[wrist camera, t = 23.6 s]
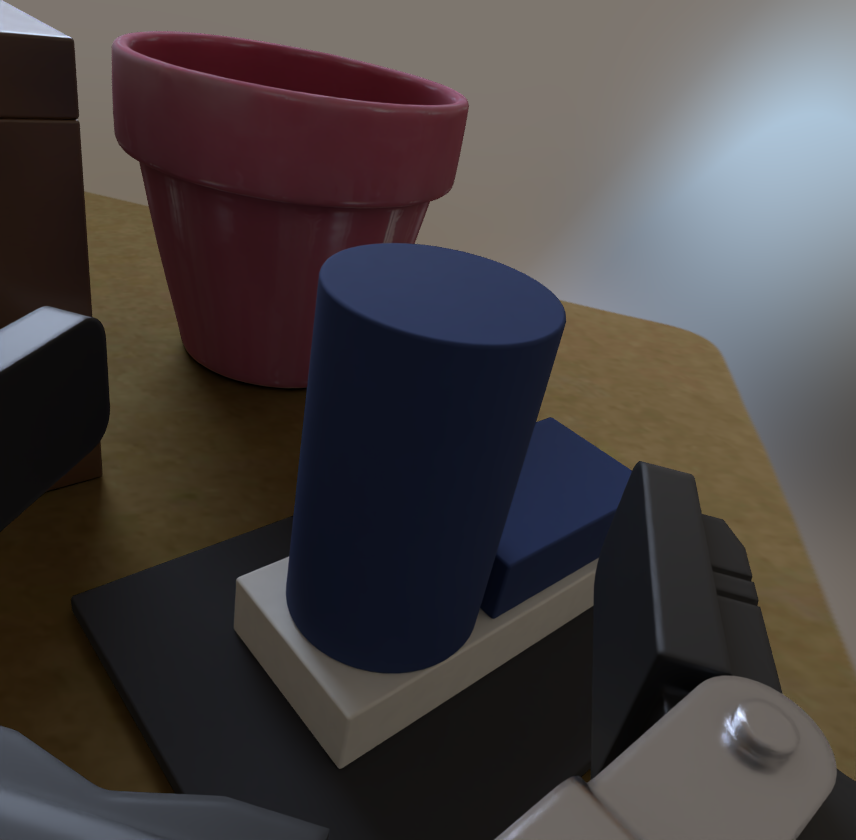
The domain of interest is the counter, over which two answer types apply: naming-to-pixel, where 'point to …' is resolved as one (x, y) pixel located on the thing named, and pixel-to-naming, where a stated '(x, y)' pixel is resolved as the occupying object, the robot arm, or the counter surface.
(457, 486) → the boot
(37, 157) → the shoe bench
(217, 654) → the shoe mat
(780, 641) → the counter surface
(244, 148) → the flower pot
